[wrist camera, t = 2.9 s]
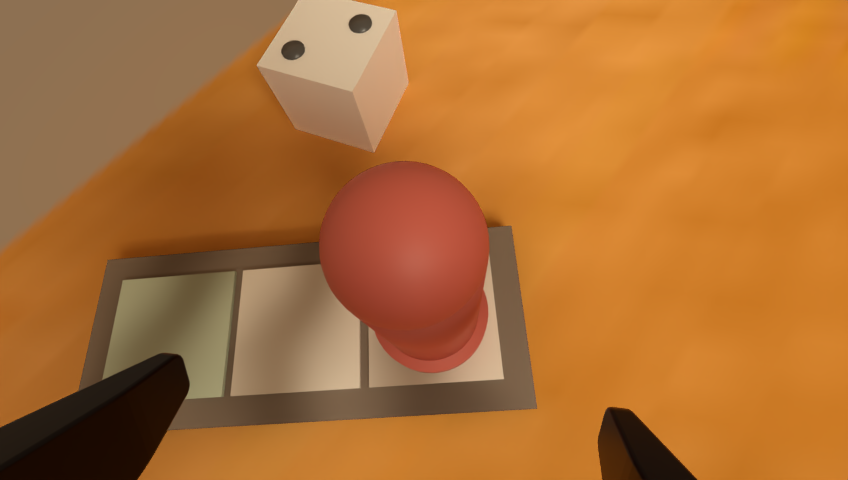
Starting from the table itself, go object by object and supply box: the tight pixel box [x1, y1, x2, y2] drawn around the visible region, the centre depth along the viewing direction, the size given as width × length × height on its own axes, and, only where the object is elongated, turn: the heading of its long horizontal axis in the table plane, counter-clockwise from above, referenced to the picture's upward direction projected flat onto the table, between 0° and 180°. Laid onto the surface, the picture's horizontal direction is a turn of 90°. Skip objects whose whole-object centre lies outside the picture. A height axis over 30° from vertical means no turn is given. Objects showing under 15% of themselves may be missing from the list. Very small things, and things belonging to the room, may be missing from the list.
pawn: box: [319, 161, 489, 373], centre depth 13 cm, size 5×5×11 cm
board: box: [79, 226, 537, 430], centre depth 19 cm, size 20×8×1 cm, turn 93°
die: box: [257, 0, 409, 153], centre depth 22 cm, size 5×5×5 cm
